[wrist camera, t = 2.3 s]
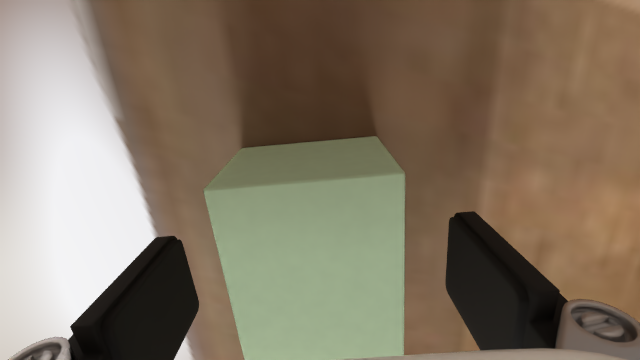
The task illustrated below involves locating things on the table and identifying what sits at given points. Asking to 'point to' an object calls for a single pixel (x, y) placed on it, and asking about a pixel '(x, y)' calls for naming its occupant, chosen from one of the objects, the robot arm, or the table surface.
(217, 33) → the table surface
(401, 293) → the pale green rectangular block
